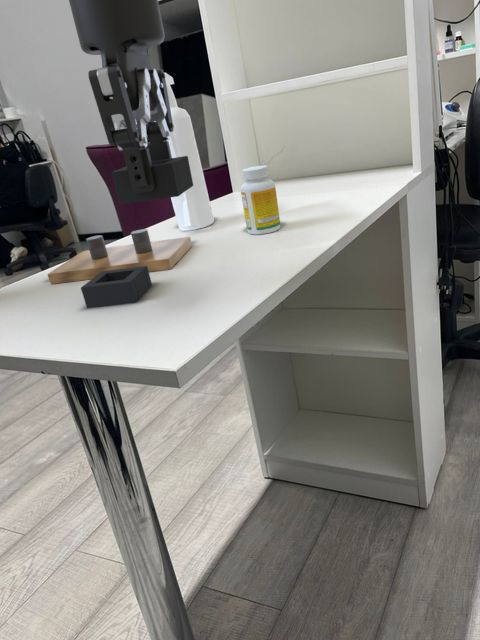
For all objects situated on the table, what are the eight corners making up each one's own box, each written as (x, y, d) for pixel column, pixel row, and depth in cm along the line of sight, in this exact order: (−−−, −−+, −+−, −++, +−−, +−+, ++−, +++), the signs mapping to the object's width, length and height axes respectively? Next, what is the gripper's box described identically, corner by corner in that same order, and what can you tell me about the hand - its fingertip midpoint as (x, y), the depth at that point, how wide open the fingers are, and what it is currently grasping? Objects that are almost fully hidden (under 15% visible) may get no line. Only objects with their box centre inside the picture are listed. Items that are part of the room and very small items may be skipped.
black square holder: (119, 204, 52) (110, 172, 51) (139, 193, 57) (132, 163, 56) (178, 196, 51) (171, 163, 50) (193, 185, 56) (187, 155, 55)
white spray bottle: (170, 238, 92) (131, 75, 82) (182, 223, 103) (149, 78, 92) (208, 232, 91) (175, 67, 81) (216, 217, 102) (188, 70, 92)
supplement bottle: (241, 235, 85) (229, 172, 81) (260, 226, 89) (250, 165, 85) (268, 235, 82) (258, 170, 78) (287, 225, 86) (278, 163, 82)
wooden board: (50, 284, 77) (40, 253, 75) (85, 259, 87) (77, 232, 85) (171, 269, 73) (163, 236, 71) (192, 245, 84) (185, 217, 82)
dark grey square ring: (88, 312, 62) (80, 287, 61) (107, 294, 67) (101, 271, 66) (137, 306, 61) (130, 281, 60) (153, 289, 66) (147, 265, 65)
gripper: (102, 6, 54) (143, 179, 61) (29, -19, 41) (91, 204, 48) (174, -9, 52) (207, 170, 59) (121, -40, 40) (172, 193, 47)
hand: (155, 184), depth 54 cm, fingers closed on black square holder, 6 cm apart
